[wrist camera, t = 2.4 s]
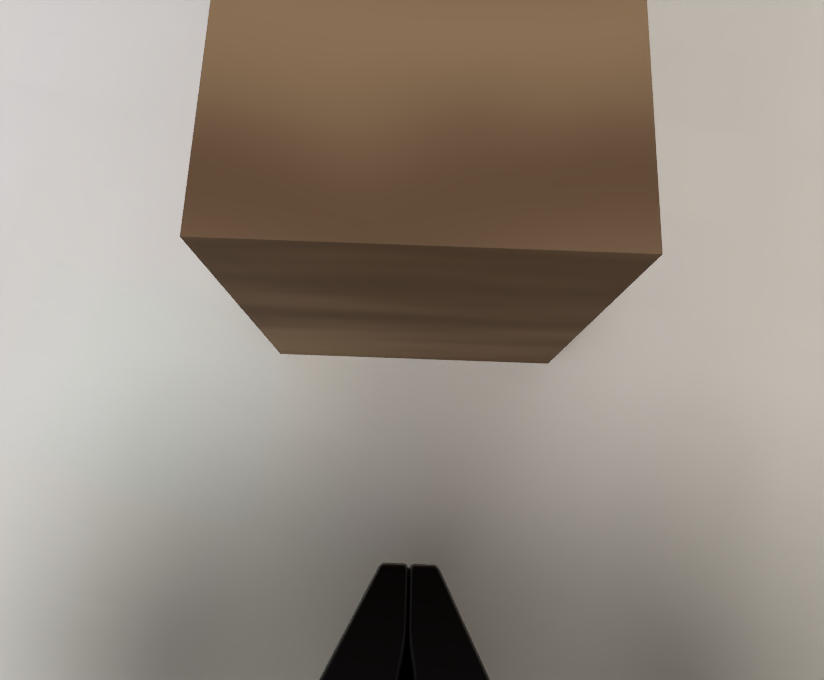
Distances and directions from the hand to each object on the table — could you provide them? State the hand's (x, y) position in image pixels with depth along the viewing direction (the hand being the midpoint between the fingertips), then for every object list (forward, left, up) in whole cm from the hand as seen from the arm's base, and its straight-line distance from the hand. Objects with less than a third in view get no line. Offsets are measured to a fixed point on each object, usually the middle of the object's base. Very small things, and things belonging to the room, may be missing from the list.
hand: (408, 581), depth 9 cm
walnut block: (+9, -8, -9) cm, 15 cm away
